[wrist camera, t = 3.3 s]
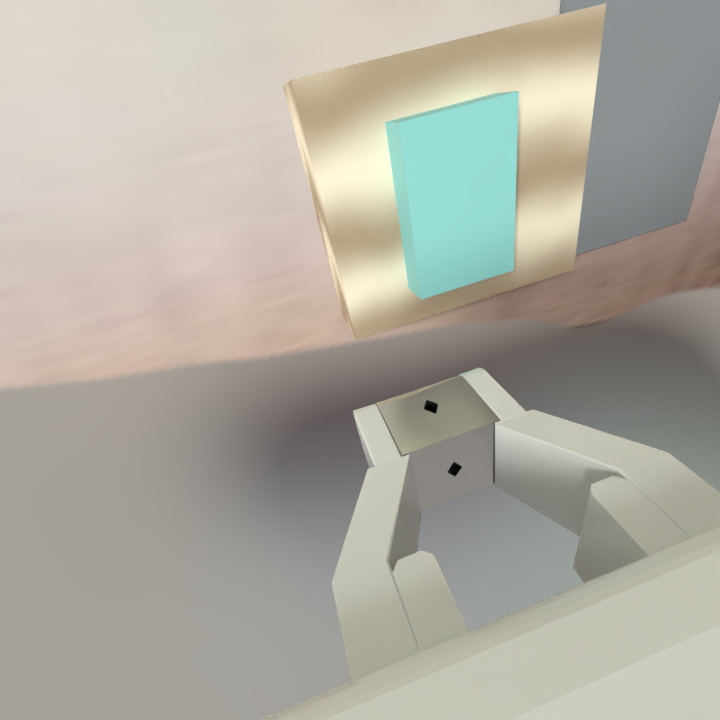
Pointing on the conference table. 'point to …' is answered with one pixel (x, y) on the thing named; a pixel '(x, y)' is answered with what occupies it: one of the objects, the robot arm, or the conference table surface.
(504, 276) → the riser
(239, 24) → the conference table surface
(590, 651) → the robot arm
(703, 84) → the mat
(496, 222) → the turquoise rectangular block
